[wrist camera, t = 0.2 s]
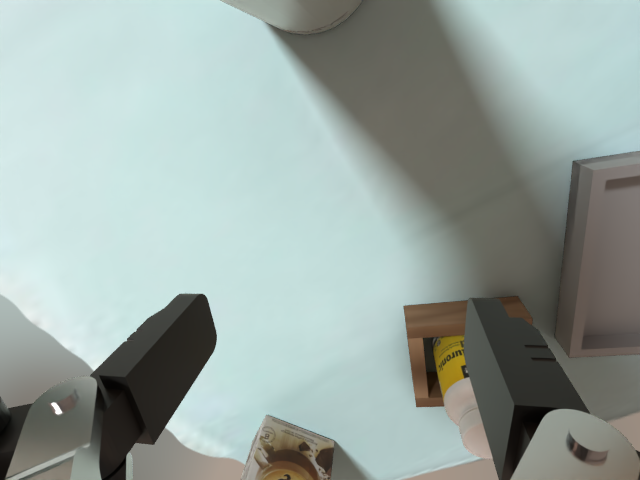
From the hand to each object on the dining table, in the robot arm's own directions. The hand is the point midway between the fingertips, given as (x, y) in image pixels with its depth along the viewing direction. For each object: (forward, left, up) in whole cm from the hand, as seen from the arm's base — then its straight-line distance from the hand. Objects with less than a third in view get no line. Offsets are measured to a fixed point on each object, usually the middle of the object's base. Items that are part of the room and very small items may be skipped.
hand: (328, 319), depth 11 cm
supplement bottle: (+18, +7, -18) cm, 27 cm away
